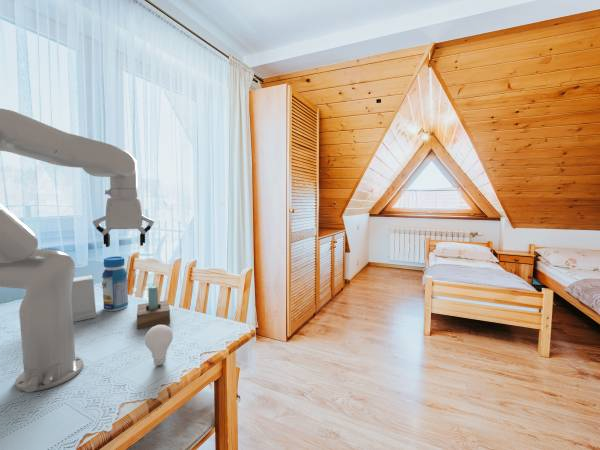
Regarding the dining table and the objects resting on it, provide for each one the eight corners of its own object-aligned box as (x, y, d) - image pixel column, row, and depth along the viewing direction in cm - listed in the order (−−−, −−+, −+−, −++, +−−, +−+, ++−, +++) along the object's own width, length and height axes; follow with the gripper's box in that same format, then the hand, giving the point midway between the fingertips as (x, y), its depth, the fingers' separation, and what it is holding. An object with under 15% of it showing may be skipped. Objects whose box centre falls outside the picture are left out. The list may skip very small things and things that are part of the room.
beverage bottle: (126, 310, 109) (124, 259, 107) (100, 313, 106) (97, 261, 104) (130, 302, 117) (128, 255, 115) (106, 304, 114) (104, 256, 112)
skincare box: (95, 312, 107) (93, 274, 105) (96, 318, 102) (94, 278, 101) (66, 318, 102) (64, 277, 100) (66, 324, 97) (63, 282, 95)
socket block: (170, 323, 99) (169, 310, 99) (137, 329, 95) (136, 315, 94) (168, 313, 108) (168, 300, 108) (138, 317, 103) (137, 304, 103)
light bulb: (166, 355, 80) (165, 318, 79) (178, 364, 76) (177, 325, 75) (141, 365, 75) (140, 326, 74) (152, 376, 71) (151, 334, 70)
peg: (158, 321, 101) (157, 288, 99) (148, 322, 99) (148, 289, 98) (158, 317, 103) (157, 285, 102) (149, 319, 102) (148, 286, 101)
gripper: (89, 193, 86) (90, 248, 87) (153, 195, 93) (153, 246, 95) (94, 193, 92) (96, 245, 94) (154, 195, 100) (154, 243, 101)
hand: (125, 245), depth 94 cm, fingers open, 9 cm apart
